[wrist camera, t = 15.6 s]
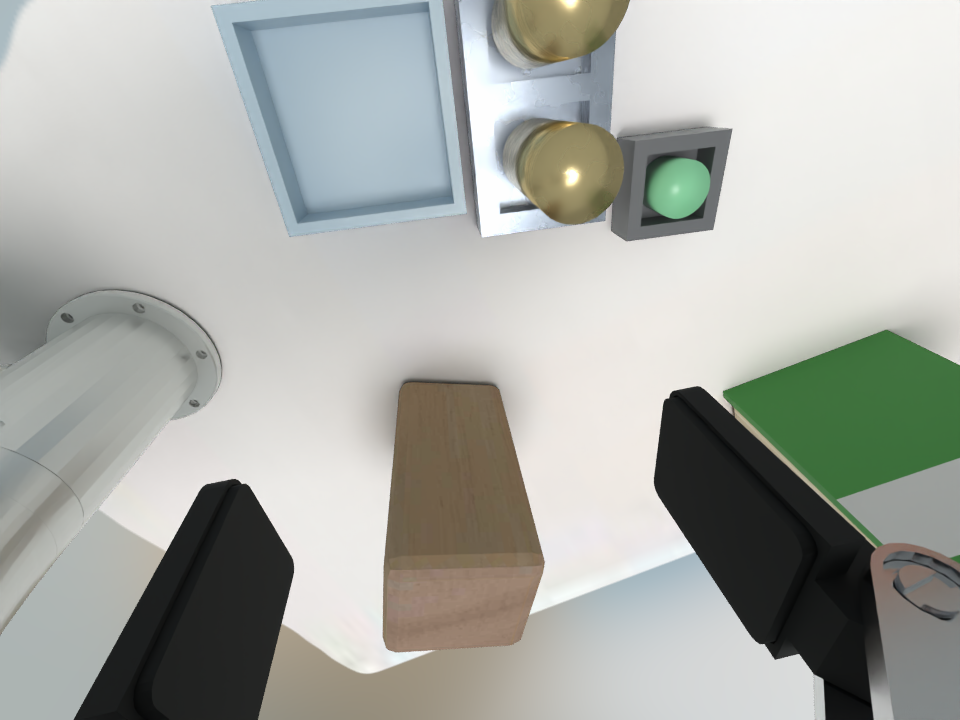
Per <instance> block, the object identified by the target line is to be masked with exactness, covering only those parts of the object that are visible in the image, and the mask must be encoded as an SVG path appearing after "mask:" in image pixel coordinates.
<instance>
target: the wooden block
mask: <svg viewBox="0 0 960 720" xmlns="http://www.w3.org/2000/svg"><path fill="white" fill-rule="evenodd" d="M544 563H545V561H544V558H543V554H542V550H541V546H540V542H539V539H538V535H537V531H536V527H535V523H534V520H533V516H532V512H531V508H530V504H529V501H528V497H527V493H526V489H525V485H524V482H523V478H522V474H521V470H520V466H519V463H518V459H517V455H516V451H515V447H514V444H513V440H512V436H511V432H510V428H509V425H508V421H507V417H506V413H505V410H504V406H503V402H502V398H501V395H500V391H499V389H498V388H497V387H494V386H491V385H470V384H445V383H420V382H409V383H405V384H404V385H403V386H402V388H401V390H400V391H399V400H398V412H397V423H396V434H395V445H394V457H393V468H392V479H391V490H390V502H389V513H388V524H387V536H386V547H385V558H384V583H383V639H384V642H385V645H386V648H387V649H388V650H390V651H394V652H411V651H427V650H441V649H459V648H475V647H491V646H508V645H512V644H514V643H516V642H518V641H519V640H521V637H522V634H523V631H524V628H525V625H526V622H527V619H528V616H529V613H530V610H531V607H532V604H533V601H534V598H535V595H536V592H537V589H538V586H539V583H540V580H541V577H542V574H543V569H544Z"/></svg>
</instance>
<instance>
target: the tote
mask: <svg viewBox="0 0 960 720" xmlns="http://www.w3.org/2000/svg"><path fill="white" fill-rule="evenodd" d="M211 7H212V10H213V13H214V16H215V19H216V22H217V25H218V28H219V31H220V34H221V37H222V40H223V43H224V46H225V49H226V52H227V54H228V57H229V60H230V63H231V66H232V69H233V72H234V75H235V78H236V81H237V84H238V87H239V90H240V93H241V96H242V99H243V102H244V104H245V107H246V110H247V113H248V116H249V119H250V122H251V125H252V128H253V131H254V134H255V137H256V140H257V143H258V146H259V149H260V151H261V154H262V157H263V160H264V163H265V166H266V169H267V172H268V175H269V178H270V181H271V184H272V187H273V190H274V193H275V196H276V198H277V201H278V204H279V207H280V210H281V213H282V216H283V219H284V222H285V225H286V228H287V231H288V234H289V237H292V236H300V235H308V234H315V233H323V232H331V231H338V230H346V229H354V228H361V227H369V226H377V225H384V224H392V223H400V222H407V221H415V220H423V219H430V218H438V217H445V216H453V215H461V214H467V210H466V201H465V193H464V184H463V175H462V166H461V157H460V149H459V140H458V131H457V122H456V113H455V105H454V96H453V87H452V78H451V69H450V61H449V52H448V43H447V34H446V25H445V17H444V8H443V0H260V1H251V2H242V3H232V4H223V5H213V6H211Z"/></svg>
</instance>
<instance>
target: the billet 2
mask: <svg viewBox="0 0 960 720" xmlns="http://www.w3.org/2000/svg"><path fill="white" fill-rule="evenodd" d="M503 167H504V171H505V174H506V176H507V178H508V179H509V181H510V182H511V183H512V184H513V185H514V186H515V187H516V188H517V189H518V190H519V191H520V192H521V193H522V194H524V195H525V196H526V197H527V198H528V199H529V200H530V201H531V202H532V203H534V204H535V205H536V206H537V207H538V208H539V209H540V210H541V211H542V212H543V213H545V214H546V215H547V216H548V217H549V218H551V219H552V220H554V221H556V222H559V223H562V224H568V225H576V224H582V223H585V222H588V221H590V220H592V219H594V218H596V217H598V216H599V215H600V214H602V213H603V212H604V211H605V210H606V209H607V208H608V207H609V206H610V205H611V203H612V202H613V201H614V199H615V197H616V196H617V194H618V192H619V189H620V187H621V184H622V180H623V174H624V160H623V155H622V151H621V148H620V146H619V144H618V142H617V140H616V139H615V138H614V137H613V135H612V134H610V133H609V132H608V131H607V130H605V129H604V128H602V127H600V126H598V125H594V124H588V123H579V122H570V121H561V120H552V119H543V118H534V119H530V120H527V121H525V122H523V123H521V124H520V125H518V126H517V127H516V128H515V129H514V130H513V131H512V132H511V134H510V135H509V137H508V139H507V141H506V143H505V146H504V150H503Z"/></svg>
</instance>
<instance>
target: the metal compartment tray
mask: <svg viewBox="0 0 960 720" xmlns="http://www.w3.org/2000/svg"><path fill="white" fill-rule="evenodd" d="M494 1H495V0H454V2H455V12H456V21H457V31H458V41H459V51H460V60H461V70H462V80H463V90H464V99H465V109H466V119H467V129H468V139H469V148H470V158H471V168H472V178H473V187H474V197H475V207H476V217H477V226H478V230H479V232H480V234H481V236H482V237H488V236H495V235H503V234H510V233H518V232H525V231H533V230H540V229H548V228H555V227H563V226H570V225H568V224H562V223H559V222H556V221H554V220H552V219H551V218H549V217H548V216H547V215H546V214H545V213H543V212H542V211H541V210H540V209H539V208H538V207H537V206H536V205H535V204H534V203H532V202H531V201H530V200H529V199H528V198H527V197H526V196H525V195H524V194H522V193H521V192H520V191H519V190H518V189H517V188H516V187H515V186H514V185H513V184H512V183H511V182H510V181H509V179H508V178H507V176H506V174H505V171H504V167H503V150H504V146H505V143H506V141H507V139H508V137H509V135H510V134H511V132H512V131H513V130H514V129H515V128H516V127H517V126H518V125H520V124H521V123H523V122H525V121H527V120H530V119H534V118H543V119H552V120H561V121H570V122H579V123H588V124H594V125H598V126H600V127H602V128H604V129H605V130H607V131H608V132H609V133H610V126H611V108H612V90H613V72H614V54H615V36H616V31H615V32H614V34H613V35H612V36H611V37H610V38H609V40H608V41H607V42H605V43H604V44H603V45H602V46H601V47H599V48H598V49H597V50H595V51H593V52H591V53H589V54H587V55H584V56H581V57H577V58H573V59H569V60H565V61H561V62H557V63H553V64H550V65H546V66H542V67H538V68H533V69H522V68H518V67H516V66H514V65H512V64H510V63H509V62H508V61H507V60H506V59H505V58H504V57H503V56H502V55H501V54H500V52H499V50H498V49H497V46H496V44H495V41H494V38H493V34H492V28H491V15H492V9H493V4H494ZM605 215H606V210H605V211H604V212H603V213H602V214H600V215H599V216H598V217H596V218H594V219H592V220H590V221H588V222H585V223H593V222H600V221H605ZM585 223H582V224H585ZM576 225H578V224H576Z"/></svg>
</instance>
